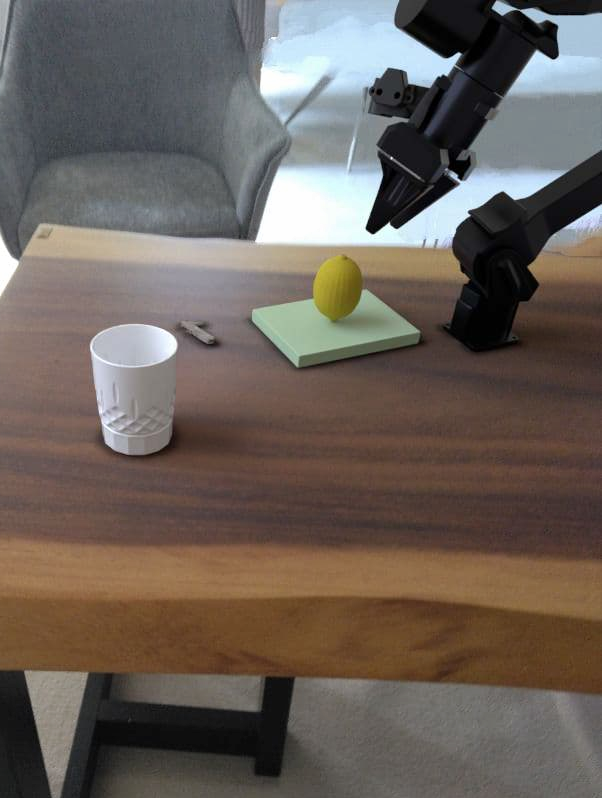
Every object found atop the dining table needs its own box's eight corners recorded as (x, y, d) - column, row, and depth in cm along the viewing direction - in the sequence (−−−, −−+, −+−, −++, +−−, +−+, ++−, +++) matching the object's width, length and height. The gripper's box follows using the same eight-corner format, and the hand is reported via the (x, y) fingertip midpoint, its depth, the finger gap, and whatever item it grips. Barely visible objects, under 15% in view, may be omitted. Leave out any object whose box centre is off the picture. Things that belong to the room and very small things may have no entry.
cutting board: (364, 300, 101) (366, 289, 100) (418, 343, 93) (421, 331, 92) (251, 320, 96) (252, 309, 95) (297, 368, 88) (299, 356, 87)
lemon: (325, 335, 91) (335, 268, 85) (300, 315, 94) (308, 249, 89) (365, 326, 92) (377, 260, 87) (339, 307, 96) (349, 241, 91)
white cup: (116, 468, 74) (110, 374, 67) (85, 425, 79) (77, 334, 72) (191, 447, 77) (193, 354, 70) (156, 406, 82) (155, 317, 75)
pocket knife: (227, 336, 92) (207, 339, 91) (226, 342, 93) (206, 346, 91) (197, 317, 96) (177, 320, 94) (196, 323, 96) (177, 327, 94)
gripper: (433, 48, 84) (349, 185, 93) (384, 21, 69) (290, 187, 78) (518, 106, 83) (425, 240, 92) (487, 92, 68) (379, 253, 77)
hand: (381, 229), depth 85 cm, fingers open, 9 cm apart
